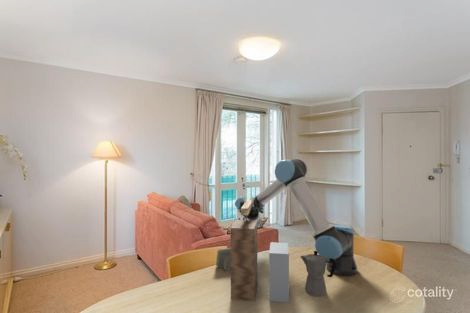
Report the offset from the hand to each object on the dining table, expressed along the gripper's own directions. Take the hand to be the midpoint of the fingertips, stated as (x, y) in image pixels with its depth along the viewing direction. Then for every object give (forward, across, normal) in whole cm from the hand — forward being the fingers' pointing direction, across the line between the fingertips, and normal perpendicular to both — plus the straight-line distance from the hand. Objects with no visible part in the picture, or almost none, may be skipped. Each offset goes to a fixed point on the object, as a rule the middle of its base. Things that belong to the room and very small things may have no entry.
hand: (248, 199), depth 136 cm
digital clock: (-29, +11, -28) cm, 42 cm away
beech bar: (+1, 0, -6) cm, 6 cm away
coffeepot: (-11, -32, -38) cm, 51 cm away
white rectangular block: (-7, -15, -40) cm, 43 cm away
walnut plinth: (-6, 0, -40) cm, 41 cm away
